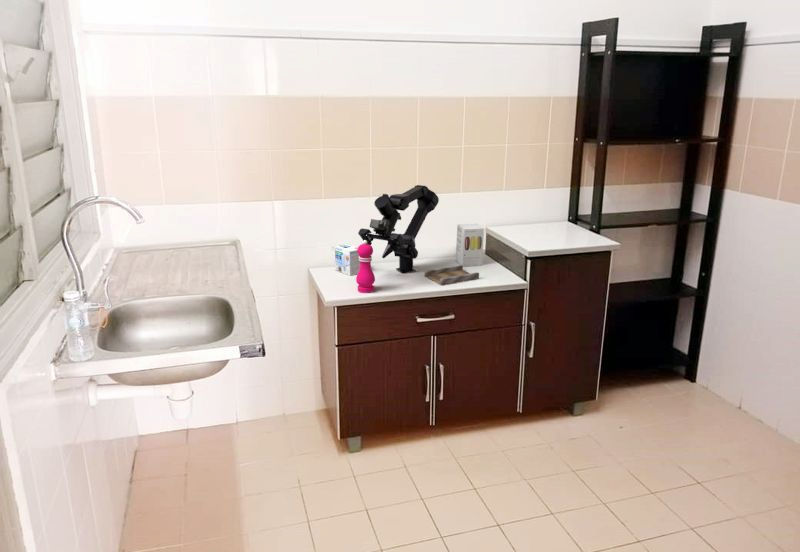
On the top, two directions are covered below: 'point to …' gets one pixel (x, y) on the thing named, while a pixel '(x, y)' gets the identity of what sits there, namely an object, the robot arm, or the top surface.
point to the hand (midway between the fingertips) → (372, 255)
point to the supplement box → (469, 244)
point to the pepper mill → (365, 268)
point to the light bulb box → (347, 259)
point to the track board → (450, 275)
